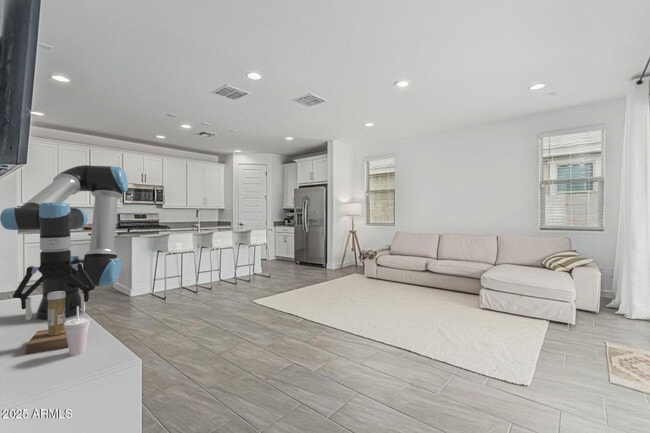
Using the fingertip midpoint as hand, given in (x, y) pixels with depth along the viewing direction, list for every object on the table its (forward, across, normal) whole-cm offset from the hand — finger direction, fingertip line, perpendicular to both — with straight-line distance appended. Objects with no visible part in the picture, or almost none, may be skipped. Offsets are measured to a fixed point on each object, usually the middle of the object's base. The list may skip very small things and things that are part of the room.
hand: (57, 315), depth 102 cm
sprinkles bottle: (+6, 0, 0) cm, 6 cm away
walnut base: (+9, 0, 0) cm, 9 cm away
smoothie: (+9, +7, -12) cm, 17 cm away
